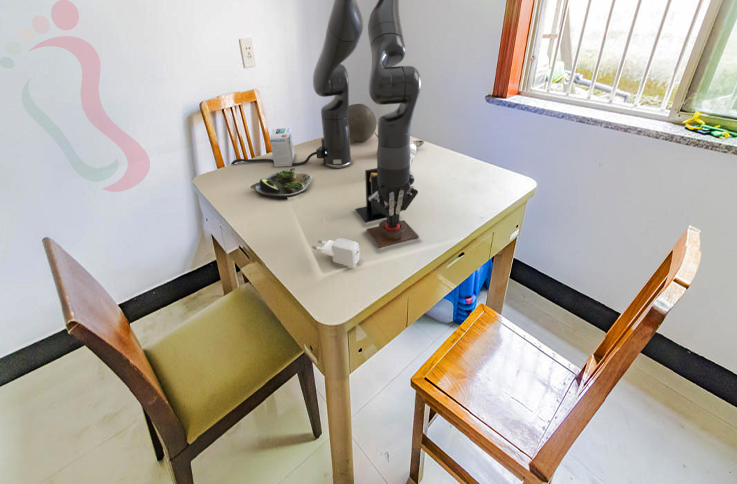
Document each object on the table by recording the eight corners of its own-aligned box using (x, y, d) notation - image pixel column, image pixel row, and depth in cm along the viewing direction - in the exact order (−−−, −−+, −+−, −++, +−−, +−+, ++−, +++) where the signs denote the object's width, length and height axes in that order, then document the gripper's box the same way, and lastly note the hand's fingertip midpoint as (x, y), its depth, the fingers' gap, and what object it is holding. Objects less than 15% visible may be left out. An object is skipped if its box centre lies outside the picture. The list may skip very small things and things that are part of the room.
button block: (403, 224, 103) (404, 213, 101) (418, 241, 96) (419, 229, 94) (366, 233, 99) (366, 222, 97) (379, 251, 93) (379, 239, 91)
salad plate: (273, 170, 134) (271, 158, 131) (320, 175, 130) (319, 162, 127) (246, 196, 118) (243, 183, 116) (298, 201, 115) (296, 188, 112)
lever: (409, 182, 107) (412, 172, 106) (414, 187, 105) (417, 177, 103) (368, 181, 102) (370, 170, 100) (372, 186, 99) (375, 174, 98)
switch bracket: (387, 205, 112) (387, 163, 104) (398, 218, 106) (399, 174, 98) (355, 212, 109) (353, 169, 101) (365, 225, 103) (364, 181, 95)
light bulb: (415, 169, 132) (417, 136, 125) (415, 178, 126) (417, 144, 119) (396, 169, 132) (396, 136, 125) (395, 178, 127) (395, 143, 120)
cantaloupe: (351, 134, 163) (349, 98, 155) (381, 138, 158) (381, 101, 150) (336, 145, 153) (333, 107, 144) (368, 149, 148) (367, 111, 139)
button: (395, 225, 99) (396, 219, 98) (402, 233, 96) (402, 227, 95) (382, 228, 98) (382, 223, 97) (388, 236, 94) (388, 231, 93)
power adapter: (311, 260, 90) (308, 240, 87) (321, 249, 94) (319, 230, 91) (353, 272, 87) (351, 251, 83) (361, 260, 90) (361, 240, 87)
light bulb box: (277, 156, 145) (272, 128, 139) (295, 155, 145) (291, 127, 139) (274, 167, 136) (269, 138, 130) (292, 166, 137) (288, 137, 130)
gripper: (411, 151, 90) (409, 213, 100) (360, 160, 87) (363, 224, 96) (427, 162, 85) (422, 227, 95) (373, 173, 81) (374, 239, 91)
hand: (392, 225), depth 96 cm, fingers closed
